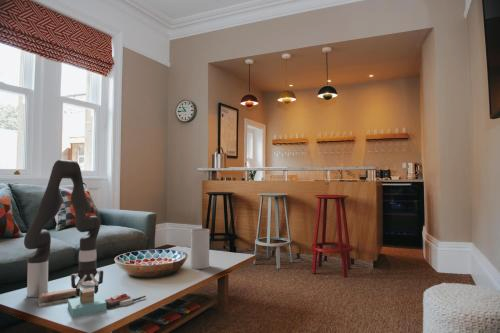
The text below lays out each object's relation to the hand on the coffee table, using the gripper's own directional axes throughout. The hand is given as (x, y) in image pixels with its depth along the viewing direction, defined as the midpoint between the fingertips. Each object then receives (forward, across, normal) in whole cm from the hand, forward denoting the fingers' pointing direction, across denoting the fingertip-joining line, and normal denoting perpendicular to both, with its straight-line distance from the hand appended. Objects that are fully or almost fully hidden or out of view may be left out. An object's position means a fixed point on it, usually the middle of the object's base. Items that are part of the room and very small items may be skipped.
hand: (87, 294), depth 164 cm
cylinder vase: (+7, -78, -36) cm, 86 cm away
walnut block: (+3, 0, 0) cm, 3 cm away
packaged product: (+7, +9, -19) cm, 22 cm away
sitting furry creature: (+7, -8, -38) cm, 39 cm away
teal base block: (+7, 0, 0) cm, 7 cm away
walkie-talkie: (+7, -16, +2) cm, 18 cm away
